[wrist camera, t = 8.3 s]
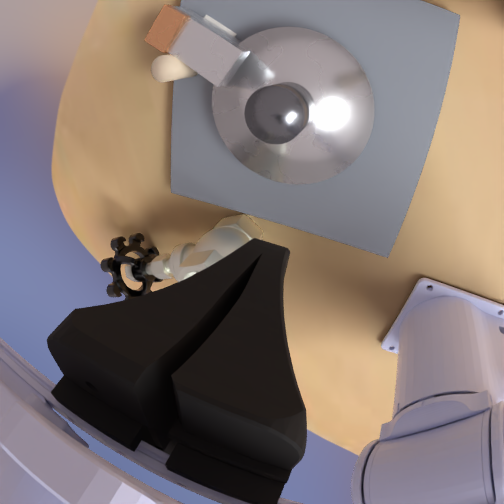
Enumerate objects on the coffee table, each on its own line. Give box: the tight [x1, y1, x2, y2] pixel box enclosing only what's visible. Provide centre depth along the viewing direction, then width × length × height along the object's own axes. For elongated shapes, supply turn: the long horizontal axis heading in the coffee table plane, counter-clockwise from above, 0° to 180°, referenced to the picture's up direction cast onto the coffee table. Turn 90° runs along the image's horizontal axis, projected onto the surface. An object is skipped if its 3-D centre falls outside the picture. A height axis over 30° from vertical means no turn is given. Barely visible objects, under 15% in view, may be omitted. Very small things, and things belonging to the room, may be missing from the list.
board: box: [151, 0, 460, 258], centre depth 16 cm, size 16×16×4 cm
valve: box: [101, 214, 263, 300], centre depth 24 cm, size 7×7×12 cm
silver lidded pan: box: [144, 4, 374, 185], centre depth 15 cm, size 14×9×4 cm, turn 56°
